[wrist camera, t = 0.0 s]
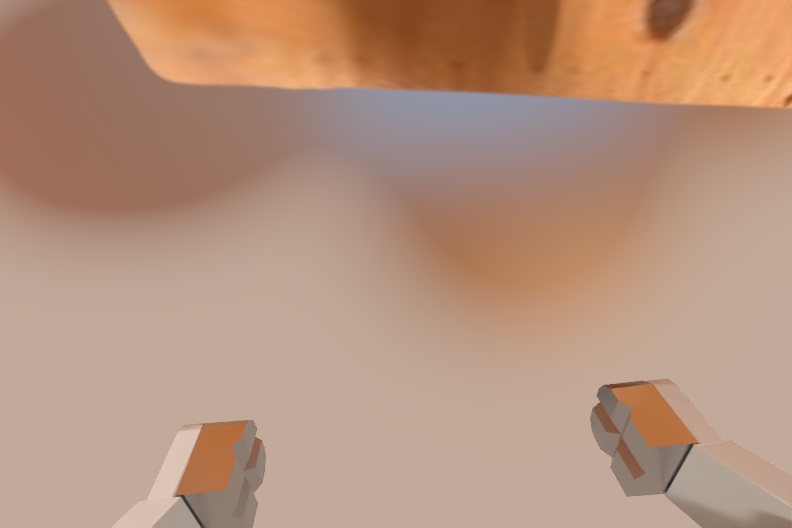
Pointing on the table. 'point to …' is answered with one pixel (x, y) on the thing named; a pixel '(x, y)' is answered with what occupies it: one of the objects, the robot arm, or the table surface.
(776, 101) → the table surface
